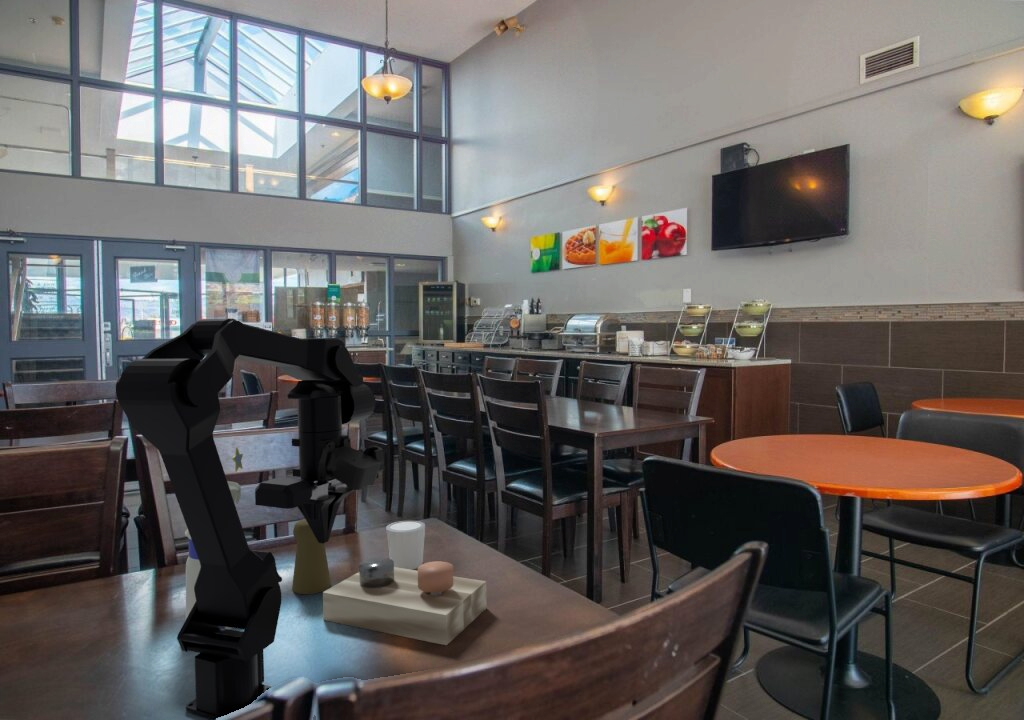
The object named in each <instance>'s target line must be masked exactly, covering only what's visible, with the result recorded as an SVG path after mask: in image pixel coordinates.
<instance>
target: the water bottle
mask: <svg viewBox="0 0 1024 720" xmlns="http://www.w3.org/2000/svg"><path fill="white" fill-rule="evenodd" d="M243 457H244V453H240V451H239V448H238V447H235V454H234V456H233V457H231V459H232V461H233V463H235V464H234V465H235V467H234V469H235V470H234V471H235V472H238V470H239V468H240V469H241V470H242V469H243V464H242V463H243V462H242V459H243ZM227 482H228V485H229V488H230V491H231V494H232V497H233V500H234V503H235V505H236V504H239V502H240V499H241V496H242V488H241V487H242V486H241V485H240V484H239V483H238V482H235V481H229V480H227ZM184 535H185V537H187V538H188V557H187V559H186V563H185V616H184V618H185V621H186V619H187V617H188V615H189V613H190V612H191V610H192V608H193V606H194V604H195V602H196V597H195V592H194V585H195V582H196V579H197V576H198V573H199V570H200V568H201V565H200V561H199V558H198V556H197V553H196V550H195V547H194V545H193V542H192V539H191V536H190V534H189V531H188V528H186V530H185V531H184ZM185 621H184V622H185ZM218 628H222V629H229V630H234V628H231V627H224V626H219V627H218Z"/></svg>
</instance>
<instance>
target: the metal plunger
mask: <svg viewBox="0 0 1024 720" xmlns="http://www.w3.org/2000/svg"><path fill="white" fill-rule="evenodd" d="M358 569H359V571H358V572H359V574H360V584H361V585H363V586H366V587H380V586H385V585H388V584H390V583H392V582H393V581H394V561H393V560H391V559H390V557H389V558H387V557H374V558H373V557H372V558H368V559H366V560H365V559H364V560H363V561H361V562H360V563H359V564H358Z"/></svg>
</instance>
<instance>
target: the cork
mask: <svg viewBox="0 0 1024 720" xmlns="http://www.w3.org/2000/svg"><path fill="white" fill-rule="evenodd" d="M292 533H293V534H292V535H293V538H294V539H295V541H296V542H297V543H296V549H295V550H296V551H295V560H294V567H293V576H292V577H293V579H292V586H291V590H292V592H293V593H295V594H300V595H311V594H312V595H313V594H316V593H320V592H321V593H322V592H324V591H326V590H328V589H330V588H331V585H332V583H331V577H330V570H329V563H328V557H327V556H328V555H327V551H326V545H325V544H326V543H324V544H323V543H319V542H318V541H317V539H316V537H315V535H314V534H313V532H312V530H311V528H310V526H309V525H308V523H307V521H306V519H305V518H303V519H302V518H301V519H300V520H298V521H297V522H295V524H294V526H293V531H292Z"/></svg>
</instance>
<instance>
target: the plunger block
mask: <svg viewBox="0 0 1024 720" xmlns="http://www.w3.org/2000/svg"><path fill="white" fill-rule="evenodd" d="M487 605H488V604H487V581H486V580H479V579H474V578H467V577H461V576H455V575H453V587H452V588H450V589H448V590H445V591H442V594H441V595H440V596H434V595H430V592H425V591H422V590H420V589H419V588H418V570H417V569H412V570H410V569H403V568H397V567H394V581H393V582H392V583H390V584H388V585H385V586H380V587H366V586H363V585H361V584H360V574H359V571H358V572H357V573H354V574H352V575H350V576H349V577H347V578H346V579H343V580H342V581H341V582H339V583H337V584H335V585H333V586H332V587H331V586H330V587H329V588H328V589H326V590H324V591H322V610H323V613H322V614H323V616H322V617H323V619H322V620H323V621H328V622H331V623H336V624H341V625H347V626H351V627H354V628H355V627H356V628H361V629H366V630H370V631H375V632H379V633H385V634H390V635H395V636H399V637H405V638H409V639H414V640H418V641H419V640H420V641H424V642H427V643H433V644H438V645H442V646H448V644H450V643H451V642H452V641H453V640H454V639H455V638H456V637H457V636H458V635H460V634H461V633H462V632H463V631H464V630H465V629H466V628H467V627H468V626H469V625H470V624H471V623H473V622H474V621H475V620H476V619H477V618H478V617H479V616H480V615H481V614H482V613H483V612H484V611H486V609H487Z"/></svg>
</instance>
